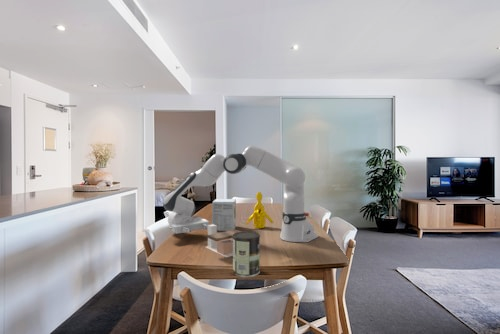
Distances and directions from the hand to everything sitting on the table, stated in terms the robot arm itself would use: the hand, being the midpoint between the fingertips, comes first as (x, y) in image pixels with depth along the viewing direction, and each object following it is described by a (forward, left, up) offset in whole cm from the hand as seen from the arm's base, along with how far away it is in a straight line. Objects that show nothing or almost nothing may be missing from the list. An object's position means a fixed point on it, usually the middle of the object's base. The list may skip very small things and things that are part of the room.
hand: (198, 229), depth 138 cm
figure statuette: (-47, -5, -7) cm, 48 cm away
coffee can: (+4, +43, -7) cm, 44 cm away
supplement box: (-28, -17, -7) cm, 34 cm away
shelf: (0, +24, -7) cm, 25 cm away
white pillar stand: (0, +20, -7) cm, 21 cm away
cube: (0, +24, -6) cm, 24 cm away
